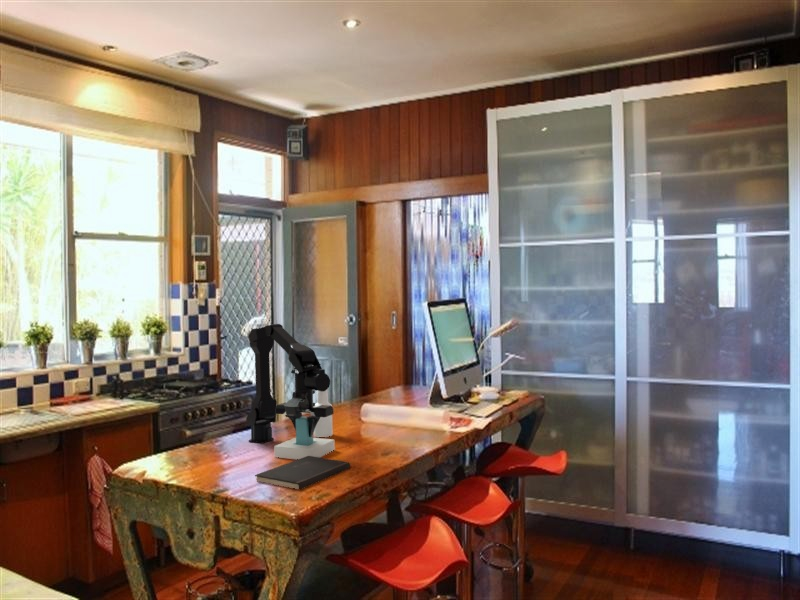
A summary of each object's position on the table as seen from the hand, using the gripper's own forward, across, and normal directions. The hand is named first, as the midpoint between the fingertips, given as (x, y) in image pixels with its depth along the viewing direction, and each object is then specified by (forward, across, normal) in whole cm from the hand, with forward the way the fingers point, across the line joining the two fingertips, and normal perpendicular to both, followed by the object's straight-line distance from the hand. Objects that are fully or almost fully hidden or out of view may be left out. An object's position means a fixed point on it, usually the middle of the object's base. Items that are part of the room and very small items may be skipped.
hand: (304, 436), depth 204 cm
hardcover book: (+6, +12, -20) cm, 24 cm away
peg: (+4, 0, 0) cm, 4 cm away
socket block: (+6, 0, 0) cm, 6 cm away
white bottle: (+6, -7, +24) cm, 26 cm away
